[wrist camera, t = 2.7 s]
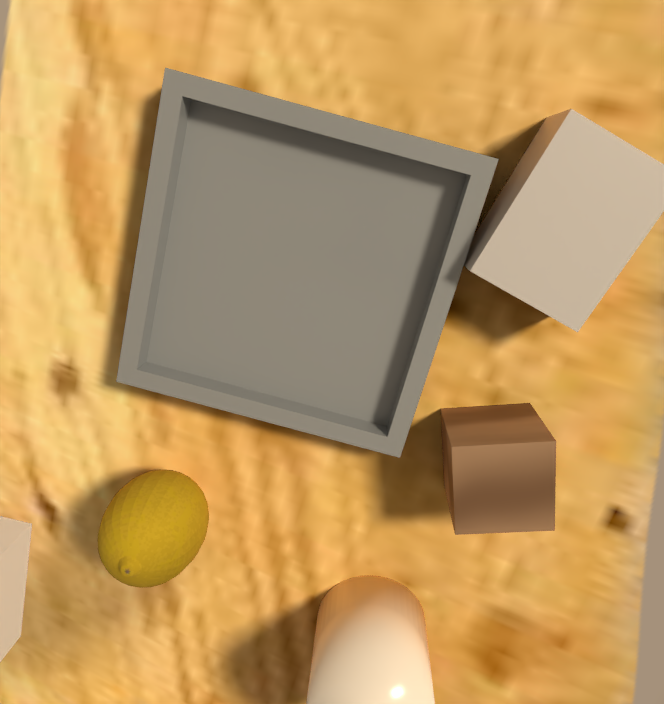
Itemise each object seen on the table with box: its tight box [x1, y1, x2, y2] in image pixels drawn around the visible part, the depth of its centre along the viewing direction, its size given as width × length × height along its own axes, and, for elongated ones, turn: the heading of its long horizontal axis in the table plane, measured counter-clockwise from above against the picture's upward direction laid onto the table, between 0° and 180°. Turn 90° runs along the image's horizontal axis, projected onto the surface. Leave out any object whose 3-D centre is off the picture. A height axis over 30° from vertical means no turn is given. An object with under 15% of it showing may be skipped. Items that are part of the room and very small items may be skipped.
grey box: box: [464, 109, 664, 332], centre depth 28 cm, size 8×6×4 cm
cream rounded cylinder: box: [306, 576, 435, 704], centre depth 34 cm, size 7×7×8 cm
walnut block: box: [441, 403, 556, 535], centre depth 31 cm, size 5×5×5 cm
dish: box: [116, 68, 499, 458], centre depth 30 cm, size 16×16×2 cm
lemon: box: [98, 470, 209, 587], centre depth 32 cm, size 6×6×8 cm
